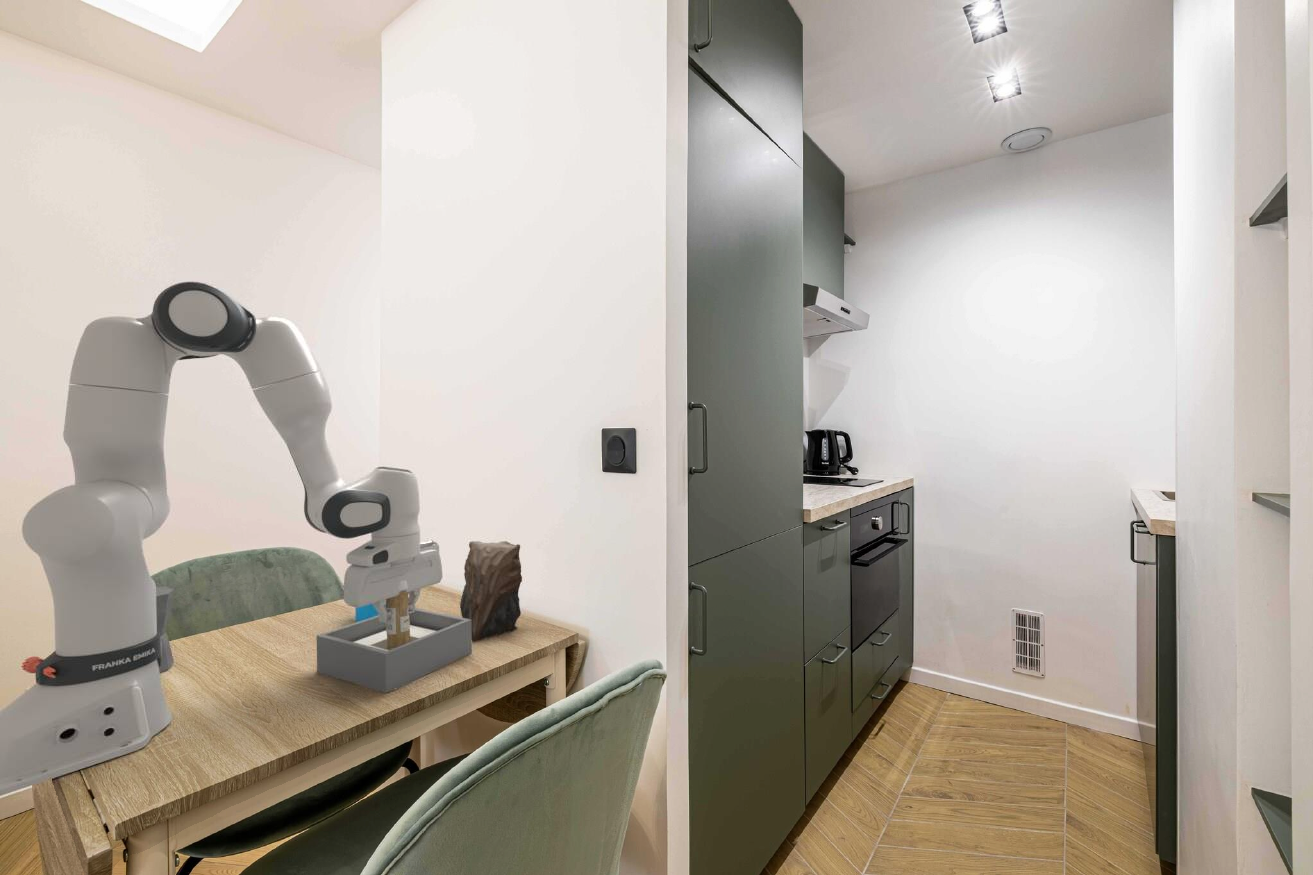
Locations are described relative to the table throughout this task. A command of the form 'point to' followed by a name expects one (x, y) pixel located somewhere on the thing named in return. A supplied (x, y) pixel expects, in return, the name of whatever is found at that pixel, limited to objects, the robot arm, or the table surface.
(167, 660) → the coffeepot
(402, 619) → the sprinkles bottle
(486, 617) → the owl
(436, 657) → the box
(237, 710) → the table surface
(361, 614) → the mug
